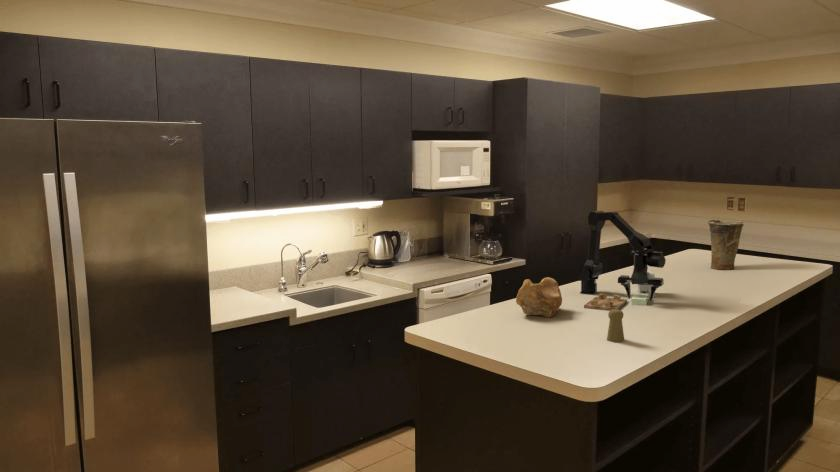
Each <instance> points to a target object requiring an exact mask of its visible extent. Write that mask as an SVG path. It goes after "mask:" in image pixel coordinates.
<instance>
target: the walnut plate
mask: <svg viewBox="0 0 840 472" xmlns="http://www.w3.org/2000/svg"><path fill="white" fill-rule="evenodd" d="M627 303H628V299H625V298H623V299H622V298H621V294H620V295H619V294H613V297H608V294H607V293H600V294H598V296H595V297H594V298H592V299H590V300H589V301H588V302H586V303H585V304H584V305H583V307H584V309H592V310H600V311H601V310H603V311H608V312H609V311H610V310H614V309H617V310H621V308H622V307H623V306H625V305H626V304H627Z"/></svg>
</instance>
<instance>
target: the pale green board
mask: <svg viewBox="0 0 840 472" xmlns="http://www.w3.org/2000/svg"><path fill="white" fill-rule="evenodd" d="M649 300H650V297H649V294H644V293H637V292H634V293H633V294H632V297H631V305H632V306H633V305H634V306H647V304H648V302H649Z"/></svg>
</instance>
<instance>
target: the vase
mask: <svg viewBox="0 0 840 472" xmlns="http://www.w3.org/2000/svg"><path fill="white" fill-rule="evenodd" d="M707 224H708V225H709V232H710V246H711V248H710V249H711V260H710V261H711V263H710V269H713V270H719V271H733V270H734V269H735V262H736V261H735V260H736V257H737V253H738V250H739V245H740V239H741V234H742V231H743V227H744V226H745V223H744V221H739V220H738V221H721V220H719V219H717V220H716V219H710V220H707Z"/></svg>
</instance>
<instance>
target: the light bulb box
mask: <svg viewBox="0 0 840 472" xmlns="http://www.w3.org/2000/svg"><path fill="white" fill-rule="evenodd" d="M647 274H648V279H653V278H654V277H655V274H654V273H653V271H652V270H647ZM655 278H656V277H655ZM651 286H652V284H651V283H643V284H642V285H639V284H636V293H644V294H649V298H650V295H651ZM653 298H655V295H654V296H653Z"/></svg>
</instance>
